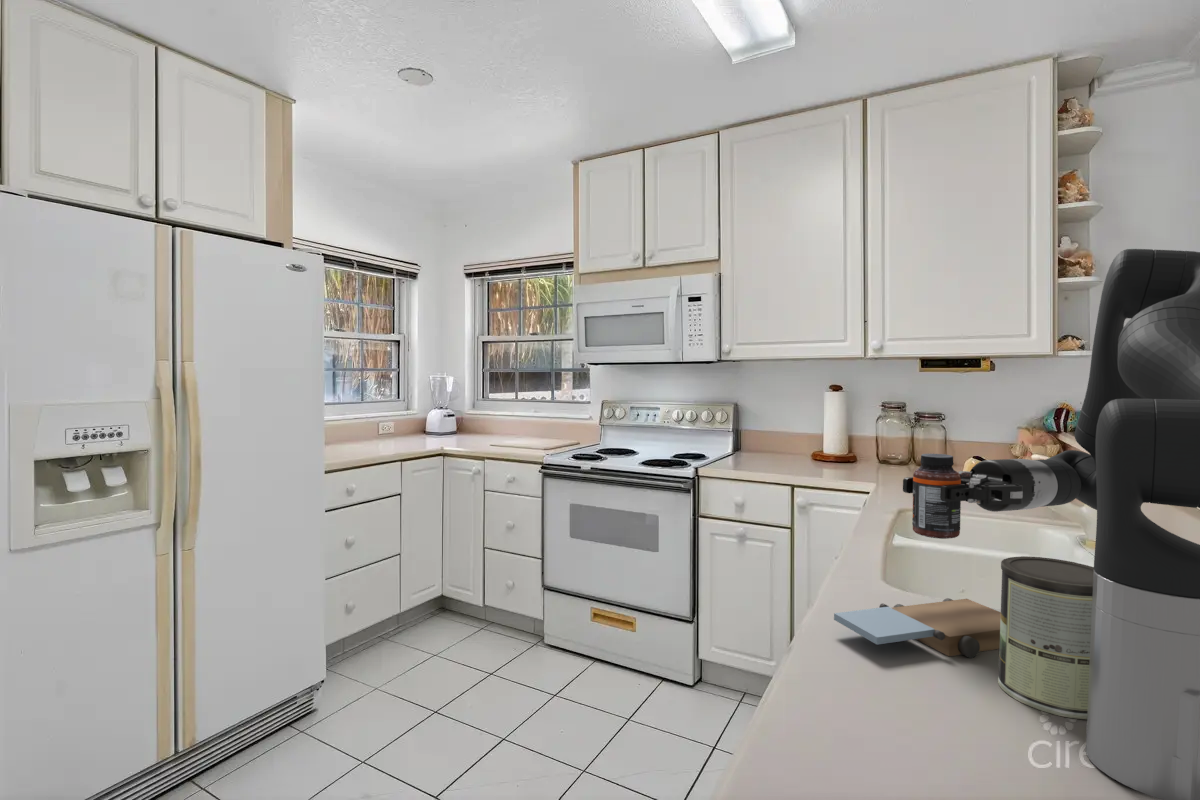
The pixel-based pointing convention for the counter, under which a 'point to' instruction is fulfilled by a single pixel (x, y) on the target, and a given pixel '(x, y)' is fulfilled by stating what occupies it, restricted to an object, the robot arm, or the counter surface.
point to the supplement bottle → (935, 498)
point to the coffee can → (1046, 634)
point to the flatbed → (957, 625)
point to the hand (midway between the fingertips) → (923, 489)
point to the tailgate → (883, 625)
